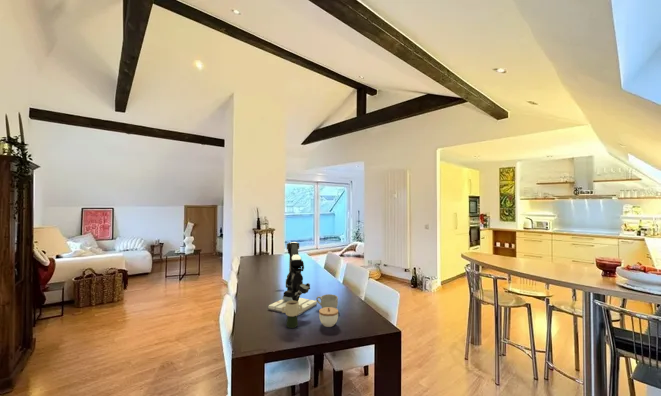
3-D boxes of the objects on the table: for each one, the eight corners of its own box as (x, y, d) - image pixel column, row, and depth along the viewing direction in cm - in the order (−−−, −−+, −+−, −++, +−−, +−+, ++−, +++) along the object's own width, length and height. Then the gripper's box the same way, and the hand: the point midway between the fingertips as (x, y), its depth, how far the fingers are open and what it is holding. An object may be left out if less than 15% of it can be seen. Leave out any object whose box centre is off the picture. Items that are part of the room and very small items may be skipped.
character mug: (300, 323, 164) (300, 299, 164) (303, 328, 157) (303, 303, 157) (281, 325, 161) (281, 301, 161) (282, 330, 154) (282, 305, 154)
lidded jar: (314, 325, 162) (314, 307, 162) (327, 319, 170) (327, 302, 170) (329, 330, 155) (329, 312, 155) (342, 324, 163) (342, 307, 163)
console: (289, 299, 204) (289, 295, 204) (316, 304, 194) (316, 300, 194) (268, 309, 185) (268, 305, 185) (297, 315, 174) (297, 311, 174)
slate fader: (286, 301, 197) (286, 294, 197) (292, 302, 195) (292, 295, 195) (283, 302, 194) (283, 295, 194) (289, 304, 191) (289, 296, 191)
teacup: (340, 308, 187) (340, 295, 187) (332, 314, 177) (332, 300, 178) (321, 304, 194) (321, 292, 194) (313, 310, 184) (313, 297, 184)
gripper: (298, 284, 170) (298, 311, 170) (315, 277, 186) (315, 302, 186) (283, 282, 175) (282, 308, 175) (300, 275, 192) (300, 299, 191)
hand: (296, 304), depth 182 cm, fingers closed
